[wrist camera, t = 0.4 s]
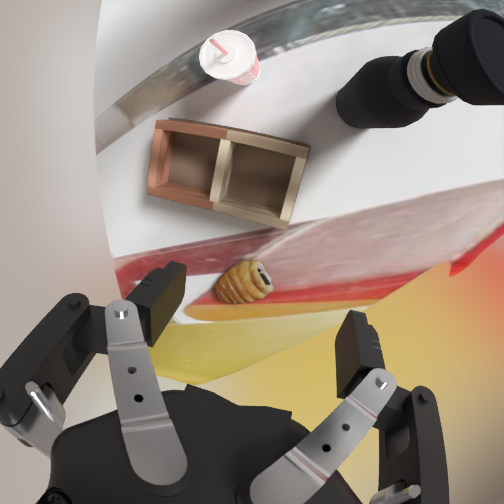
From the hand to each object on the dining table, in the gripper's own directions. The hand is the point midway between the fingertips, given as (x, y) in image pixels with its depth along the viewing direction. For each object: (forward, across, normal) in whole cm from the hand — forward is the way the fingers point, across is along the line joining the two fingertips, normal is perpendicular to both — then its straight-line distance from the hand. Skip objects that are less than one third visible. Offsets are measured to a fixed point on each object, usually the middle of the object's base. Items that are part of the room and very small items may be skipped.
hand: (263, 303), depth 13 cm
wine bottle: (+28, -6, -13) cm, 31 cm away
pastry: (+27, +3, +17) cm, 32 cm away
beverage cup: (+28, +10, -14) cm, 33 cm away
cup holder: (+27, +9, 0) cm, 29 cm away
